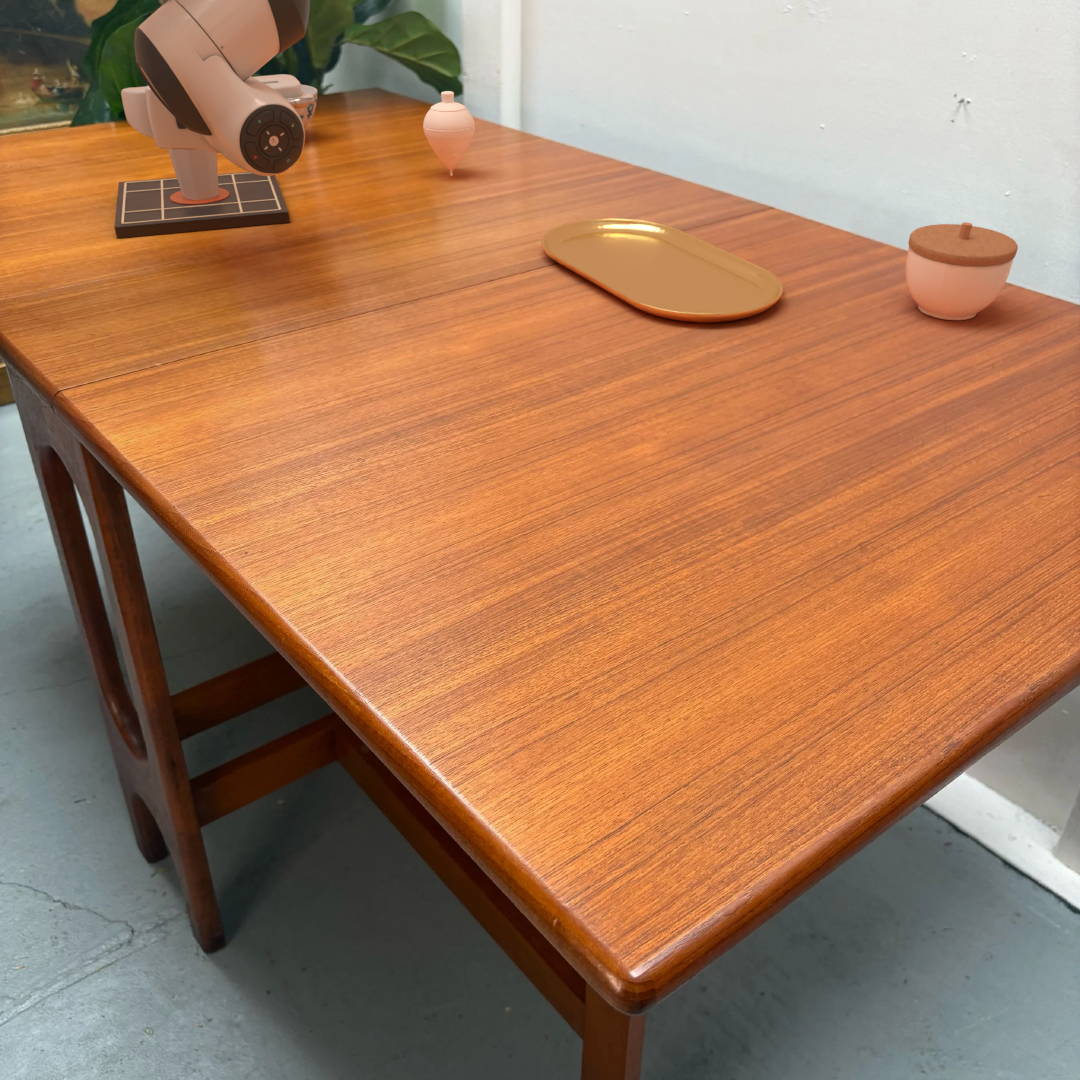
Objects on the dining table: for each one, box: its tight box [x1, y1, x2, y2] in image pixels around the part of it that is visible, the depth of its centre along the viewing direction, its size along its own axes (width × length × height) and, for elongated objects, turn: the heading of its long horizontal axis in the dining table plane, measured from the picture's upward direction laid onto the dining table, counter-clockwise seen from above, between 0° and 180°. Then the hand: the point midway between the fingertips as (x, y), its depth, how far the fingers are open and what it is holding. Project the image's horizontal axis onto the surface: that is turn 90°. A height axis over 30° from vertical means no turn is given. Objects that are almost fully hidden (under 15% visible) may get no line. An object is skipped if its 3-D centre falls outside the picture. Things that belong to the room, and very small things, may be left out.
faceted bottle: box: [167, 149, 219, 200], centre depth 135 cm, size 6×6×22 cm
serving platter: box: [540, 217, 784, 323], centre depth 120 cm, size 19×35×2 cm, turn 30°
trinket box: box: [904, 221, 1019, 321], centre depth 108 cm, size 11×11×9 cm
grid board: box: [113, 171, 291, 239], centre depth 142 cm, size 22×22×2 cm
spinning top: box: [422, 90, 476, 177], centre depth 152 cm, size 8×8×12 cm
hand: (199, 89), depth 124 cm, fingers open, 8 cm apart
